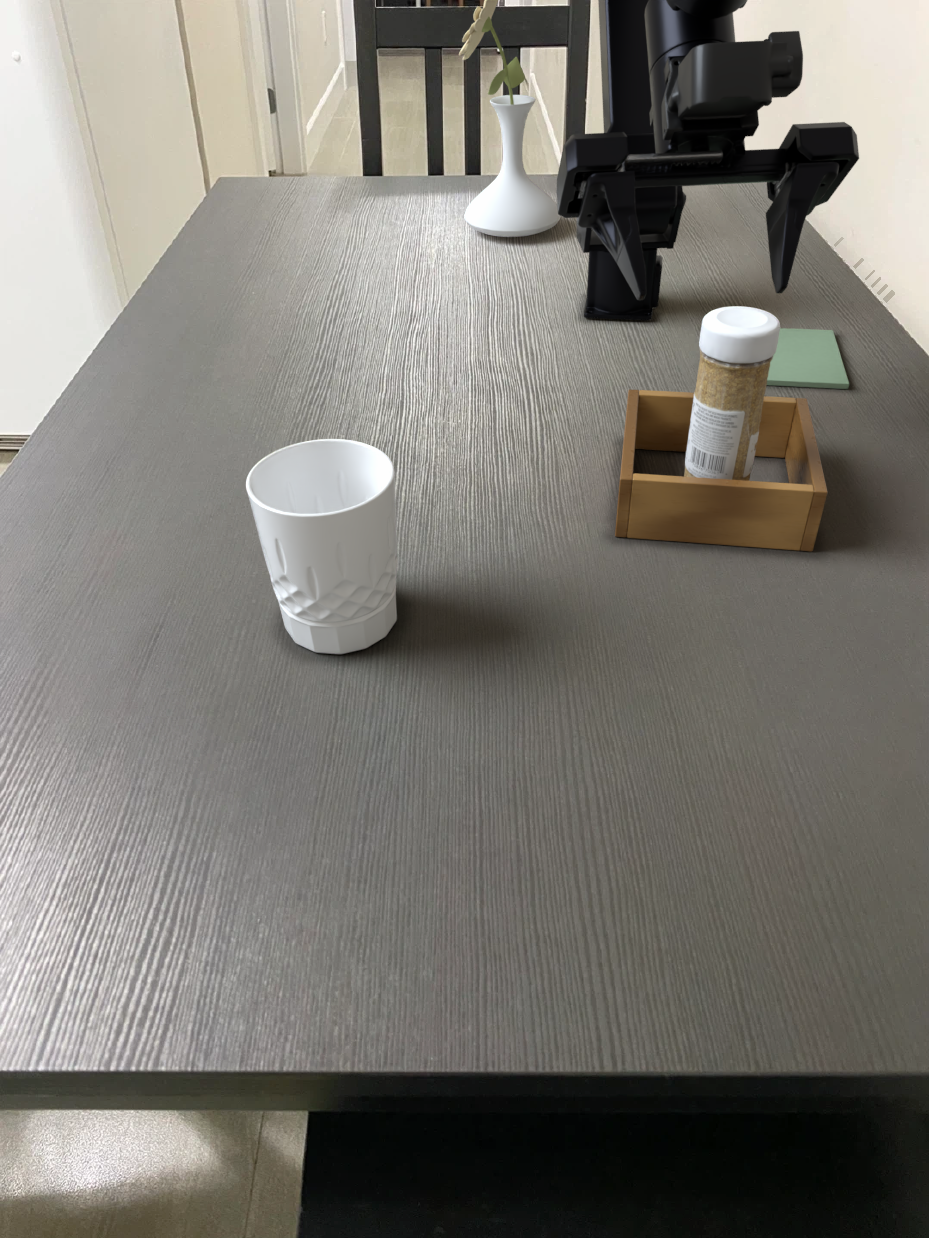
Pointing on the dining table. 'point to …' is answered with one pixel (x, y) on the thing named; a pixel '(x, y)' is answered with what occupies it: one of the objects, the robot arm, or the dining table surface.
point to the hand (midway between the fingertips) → (712, 294)
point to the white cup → (329, 541)
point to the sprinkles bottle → (730, 391)
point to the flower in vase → (507, 153)
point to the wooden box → (721, 480)
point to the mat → (807, 360)
